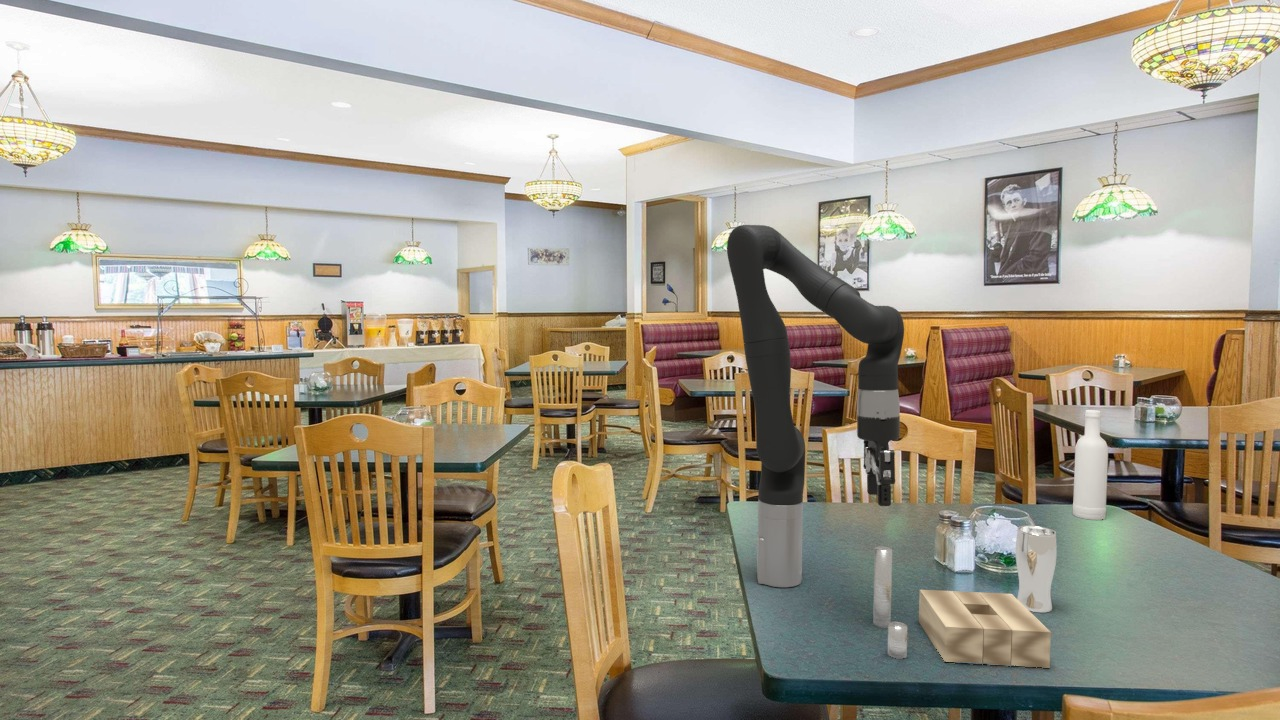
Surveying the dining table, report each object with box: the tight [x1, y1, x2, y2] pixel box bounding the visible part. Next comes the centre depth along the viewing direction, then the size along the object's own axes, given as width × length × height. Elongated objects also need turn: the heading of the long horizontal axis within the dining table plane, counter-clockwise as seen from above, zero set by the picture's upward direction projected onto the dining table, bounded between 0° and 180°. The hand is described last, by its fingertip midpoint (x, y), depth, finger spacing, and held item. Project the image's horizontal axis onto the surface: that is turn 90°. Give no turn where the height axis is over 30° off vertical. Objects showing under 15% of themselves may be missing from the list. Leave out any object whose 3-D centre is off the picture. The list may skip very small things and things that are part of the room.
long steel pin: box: [872, 545, 893, 629], centre depth 131 cm, size 3×3×14 cm
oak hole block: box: [918, 589, 1052, 669], centre depth 124 cm, size 16×16×6 cm
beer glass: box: [1015, 525, 1058, 614], centre depth 139 cm, size 7×7×15 cm
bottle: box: [1072, 409, 1109, 521], centre depth 202 cm, size 8×8×30 cm
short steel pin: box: [887, 621, 908, 660], centre depth 120 cm, size 3×3×5 cm
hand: (878, 499), depth 135 cm, fingers open, 8 cm apart
